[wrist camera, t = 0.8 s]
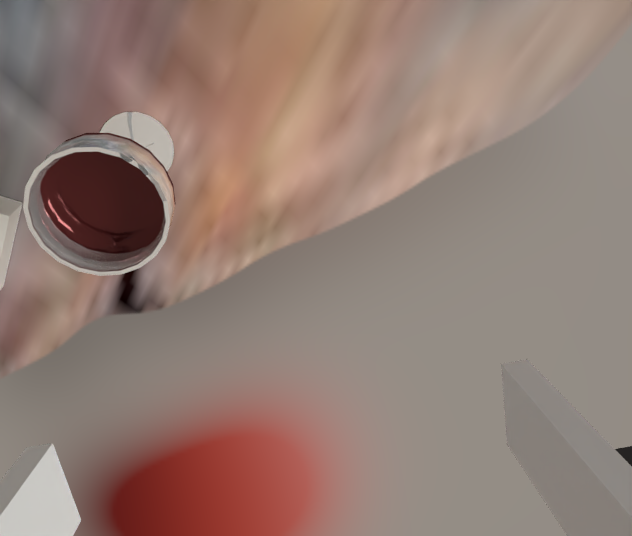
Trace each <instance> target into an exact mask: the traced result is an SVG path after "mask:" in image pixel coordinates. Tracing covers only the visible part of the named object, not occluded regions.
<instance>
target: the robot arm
mask: <svg viewBox="0 0 632 536" xmlns="http://www.w3.org/2000/svg"><path fill="white" fill-rule="evenodd" d="M501 368H502V381H503V395H504V409H505V422H506V435H507V445H508V447H509V448H510V450H511V451H512V453H513V454H514V456H515V458H516V459H517V461H518V462H519V464H520V465H521V467H522V468H523V470H524V471H525V473H526V474H527V476H528V477H529V479H530V480H531V482H532V483H533V485H534V486H535V488H536V489H537V491H538V492H539V494H540V496H541V497H542V498H543V500H544V502H545V503H546V505H547V506H548V508H549V509H550V511H551V512H552V514H553V515H554V517H555V518H556V520H557V521H558V523H559V524H560V526H561V527H562V529H563V530H564V532H565V533H566V535H567V536H632V446H630V447H625V448H619V449H614V448H613V447H612V446H611V445H610V444H609V443H608V442H607V441H606V440H605V439H604V438H603V437H602V435H600V433H599V432H598V431H597V430H596V429H595V428H594V427H593V426H592V425H591V424H590V423H589V422H588V421H587V420H586V419H585V418H584V417H583V416H582V415H581V414H580V413H579V412H578V411H577V410H576V409H575V408H574V407H573V406H572V405H571V404H570V403H569V402H568V401H567V399H565V397H564V396H563V395H562V394H561V393H560V392H559V391H558V390H557V389H556V388H555V387H554V386H553V385H552V384H551V383H550V382H549V381H548V380H547V379H546V378H545V377H544V376H543V375H542V374H541V373H540V372H539V371H538V370H537V369H536V368H535V367H534V365H532V364H531V362H530V361H529V360H527V359H526V360H520V361H515V362H509V363H503V364H501ZM80 521H81V518H80V516H79V513H78V511H77V508H76V505H75V502H74V500H73V497H72V494H71V492H70V489H69V486H68V484H67V481H66V478H65V475H64V473H63V470H62V467H61V464H60V462H59V459H58V456H57V454H56V451H55V448H54V446H53V444H52V443H51V444H45V445H39V446H34V447H28V448H26V449H25V450H24V452H23V453H22V454H21V455H20V457H19V458H18V459H17V461H16V462H15V463H14V464H13V465H12V467H11V468H10V469H9V471H8V472H7V473H6V474H5V476H4V477H3V478H2V480H1V481H0V536H73V535H74V533H75V531H76V529H77V527H78V525H79V523H80Z"/></svg>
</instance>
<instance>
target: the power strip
mask: <svg viewBox="0 0 632 536" xmlns="http://www.w3.org/2000/svg"><path fill="white" fill-rule="evenodd" d="M21 208H22V202H19V201H16V200H12V199H9V198H6V197H3V196H0V290H1V289H2V287H3V286H4V283H5V278H6V274H7V269H8V265H9V261H10V256H11V252H12V247H13V243H14V239H15V234H16V230H17V225H18V221H19V217H20V212H21Z"/></svg>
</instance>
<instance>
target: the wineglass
mask: <svg viewBox="0 0 632 536" xmlns="http://www.w3.org/2000/svg"><path fill="white" fill-rule="evenodd" d="M173 156H174V148H173V142H172V139H171V137H170V135H169V133H168V131H167V130H166V129H165V128H164V127H163V125H162V124H161V123H160V122H159V121H157V120H155V119H154V118H152V117H151V116H149V115H146V114H142V113H139V112H124V113H121V114H118V115H115V116H113V117H112V118H111V119H109V120H108V121H107V122H106V123H105V124H104V126H103V127H102V129H101V131H100V133H85V134H83V135H80V136H77V137H74V138H71V139H68V140H66V141H65V142H63V143H62V144H61V145H59V146H58V147H57V148H56V149H55V150H53V151H52V152H51V153H50V154H49V155H47V157H46V159H45V161H44V162H43V163H42V164H40V165H39V166H38V167H37V168H36V169H35V170H34V172H33V174H32V175H31V177H30V179H29V181H28V183H27V185H26V187H25V194H24V204H23V209H24V213H25V217H26V221H27V224H28V228H29V230H30V231H31V233H32V234H33V236H34V237H35V239H36V240H37V242H38V243H39V245H40V246H41V247H42V248H43V249H44V250H45V251H46V252H47V253H49V254H50V255H51V256H52V257H53V258H54V259H56V260H57V261H58V262H60V263H62V264H64V265H66V266H68V267H70V268H72V269H75V270H77V271H80V272H84V273H89V274H94V275H99V276H102V275H119V274H124V273H126V272H129V271H132V270H135V269H138V268H140V267H142V266H143V265H144V264H146V263H147V262H148V261H150V260H151V259H152V258H154V257H155V256H156V255H157V253H158V252H159V250H160V249H161V247H162V246H163V244H164V243H165V241H166V238H167V234H168V229H169V227H170V226H171V223H172V218H173V214H174V210H175V197H174V189H173V184H172V181H171V179H170V177H169V175H168V173H167V171H168V169H169V168H170V166H171V165H172V161H173Z"/></svg>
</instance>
